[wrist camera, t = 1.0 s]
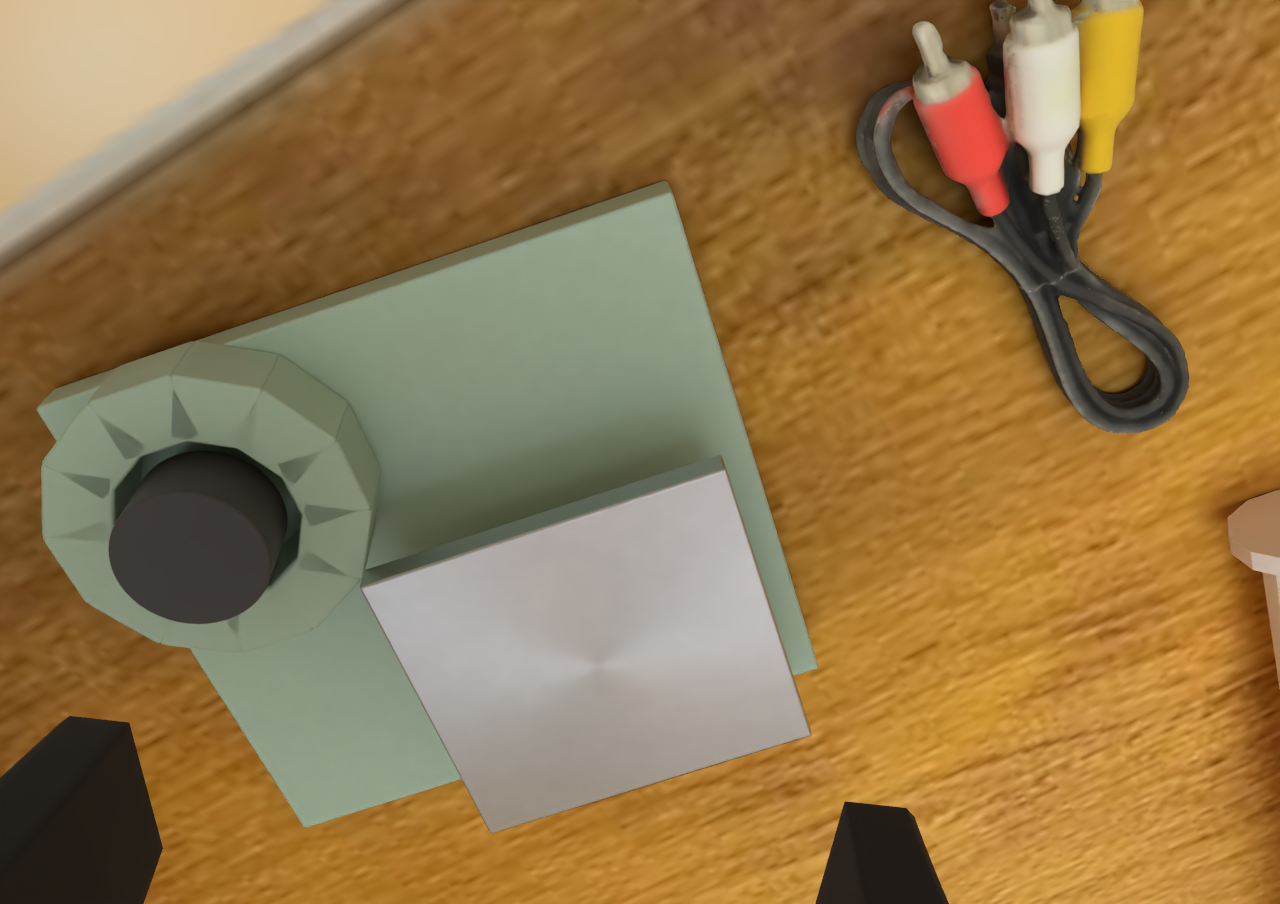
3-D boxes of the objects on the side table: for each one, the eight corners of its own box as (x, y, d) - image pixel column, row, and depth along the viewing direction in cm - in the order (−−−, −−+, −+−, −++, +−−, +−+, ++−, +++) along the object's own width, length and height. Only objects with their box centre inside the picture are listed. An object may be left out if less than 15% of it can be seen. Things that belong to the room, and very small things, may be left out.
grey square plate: (491, 813, 23) (490, 835, 23) (363, 569, 20) (358, 587, 20) (805, 716, 23) (812, 736, 22) (721, 453, 20) (726, 468, 19)
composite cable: (1188, 388, 23) (1258, 442, 21) (969, 482, 24) (1014, 543, 22) (1074, -98, 19) (1147, -95, 17) (808, 30, 19) (845, 50, 17)
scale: (300, 803, 26) (279, 890, 24) (32, 381, 21) (-27, 441, 19) (809, 644, 25) (837, 718, 23) (663, 165, 20) (679, 200, 18)
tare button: (180, 593, 21) (156, 643, 19) (107, 476, 20) (76, 521, 18) (312, 550, 21) (298, 598, 19) (246, 429, 19) (226, 471, 18)
